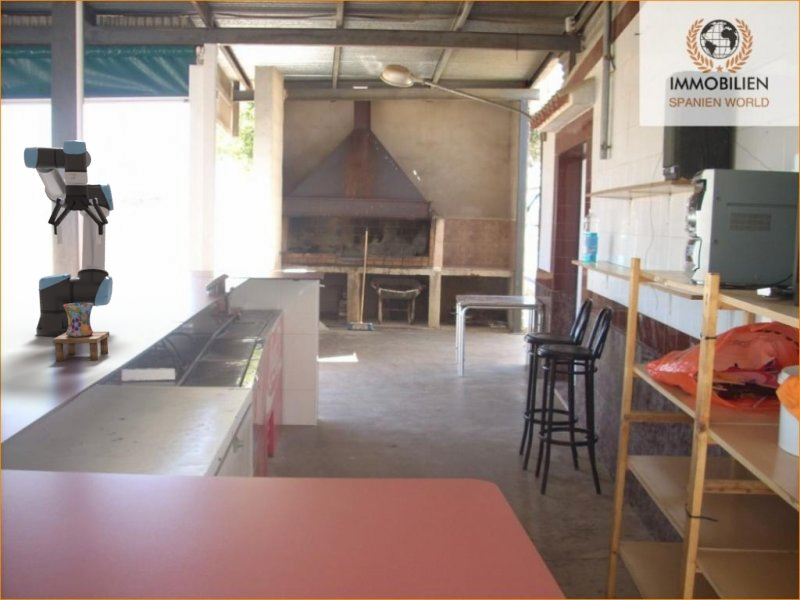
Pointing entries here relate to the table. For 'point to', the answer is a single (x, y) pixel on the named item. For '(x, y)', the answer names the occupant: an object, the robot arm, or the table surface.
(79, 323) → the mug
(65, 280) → the robot arm
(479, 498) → the table surface
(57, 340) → the stool
